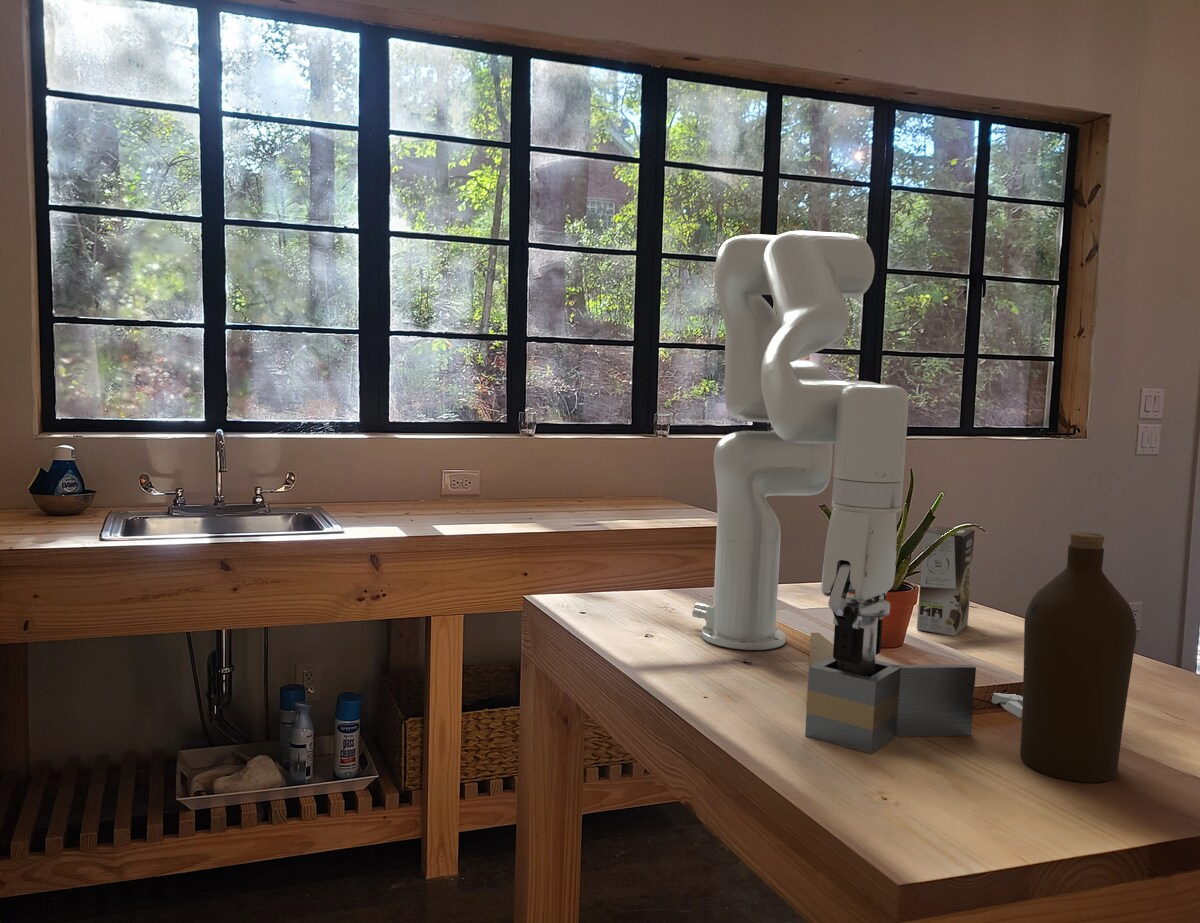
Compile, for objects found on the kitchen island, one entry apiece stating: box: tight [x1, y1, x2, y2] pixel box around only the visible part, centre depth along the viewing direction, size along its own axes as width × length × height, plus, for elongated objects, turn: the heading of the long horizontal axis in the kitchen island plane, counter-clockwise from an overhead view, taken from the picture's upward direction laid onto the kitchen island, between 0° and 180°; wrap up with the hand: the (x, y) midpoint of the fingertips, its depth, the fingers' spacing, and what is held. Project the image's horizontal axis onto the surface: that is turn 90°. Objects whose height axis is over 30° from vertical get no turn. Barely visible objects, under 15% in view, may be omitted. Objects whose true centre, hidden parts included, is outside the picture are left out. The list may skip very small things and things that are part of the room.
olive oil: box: [1019, 531, 1137, 784], centre depth 105 cm, size 11×11×25 cm
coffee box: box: [916, 526, 976, 637], centre depth 162 cm, size 9×6×16 cm
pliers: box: [991, 692, 1023, 719], centre depth 128 cm, size 10×2×15 cm
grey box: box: [804, 632, 977, 755], centre depth 115 cm, size 20×14×8 cm
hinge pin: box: [838, 594, 891, 677], centre depth 112 cm, size 6×6×8 cm
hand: (856, 654), depth 112 cm, fingers closed on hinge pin, 4 cm apart
